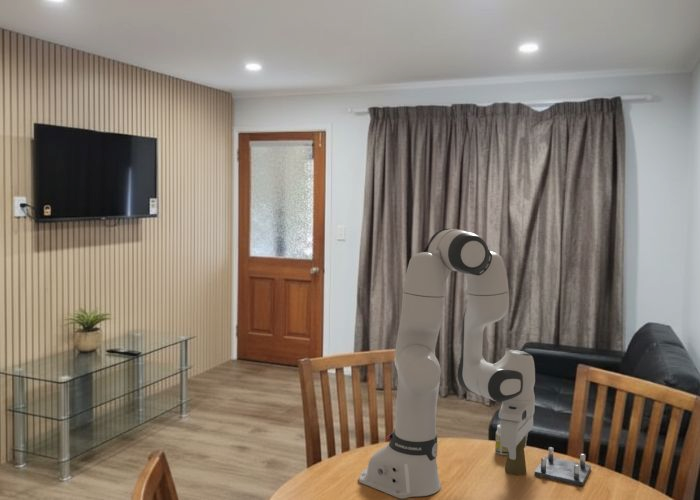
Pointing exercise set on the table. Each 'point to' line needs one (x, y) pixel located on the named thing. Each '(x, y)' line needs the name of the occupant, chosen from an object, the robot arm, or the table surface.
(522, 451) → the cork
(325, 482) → the table surface
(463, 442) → the table surface
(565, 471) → the standoff chassis
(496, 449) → the supplement bottle
